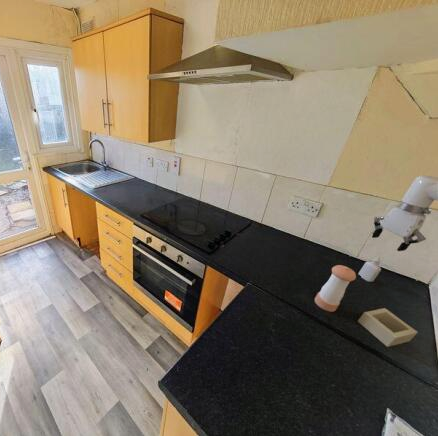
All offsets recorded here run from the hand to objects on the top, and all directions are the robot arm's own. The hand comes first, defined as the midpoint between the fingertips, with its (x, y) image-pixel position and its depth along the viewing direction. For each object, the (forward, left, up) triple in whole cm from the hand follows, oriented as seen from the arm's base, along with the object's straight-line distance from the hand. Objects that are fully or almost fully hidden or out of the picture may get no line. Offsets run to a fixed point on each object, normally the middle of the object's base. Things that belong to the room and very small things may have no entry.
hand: (386, 243), depth 96 cm
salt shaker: (+33, +9, -20) cm, 39 cm away
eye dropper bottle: (0, 0, -20) cm, 20 cm away
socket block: (+23, +23, -19) cm, 38 cm away
